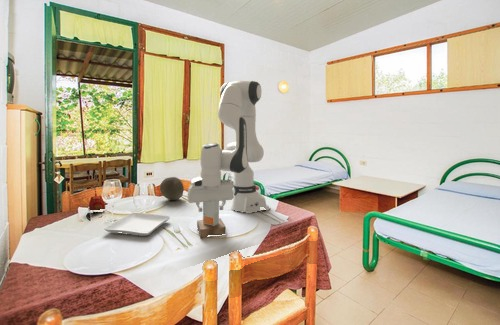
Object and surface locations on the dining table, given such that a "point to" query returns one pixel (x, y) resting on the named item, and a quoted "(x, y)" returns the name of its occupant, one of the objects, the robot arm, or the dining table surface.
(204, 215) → the skincare box
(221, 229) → the walnut base
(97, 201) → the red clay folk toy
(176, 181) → the dark brown ball
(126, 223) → the salad plate
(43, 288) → the dining table surface
